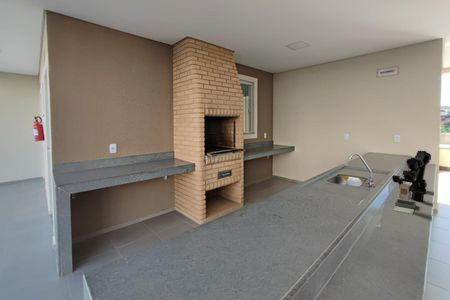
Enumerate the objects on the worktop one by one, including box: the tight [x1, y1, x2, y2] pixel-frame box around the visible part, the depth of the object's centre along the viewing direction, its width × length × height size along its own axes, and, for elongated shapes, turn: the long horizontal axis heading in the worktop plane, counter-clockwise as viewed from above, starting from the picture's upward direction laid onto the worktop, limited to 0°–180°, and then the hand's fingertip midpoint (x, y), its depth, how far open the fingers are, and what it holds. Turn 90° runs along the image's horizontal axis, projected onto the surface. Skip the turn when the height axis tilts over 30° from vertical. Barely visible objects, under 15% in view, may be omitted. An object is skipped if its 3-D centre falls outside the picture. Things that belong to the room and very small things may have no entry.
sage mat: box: [393, 206, 415, 215], centre depth 153 cm, size 10×10×1 cm
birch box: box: [398, 183, 412, 201], centre depth 154 cm, size 5×5×10 cm
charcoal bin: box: [394, 198, 417, 211], centre depth 161 cm, size 11×11×3 cm
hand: (404, 190), depth 153 cm, fingers closed on birch box, 5 cm apart
